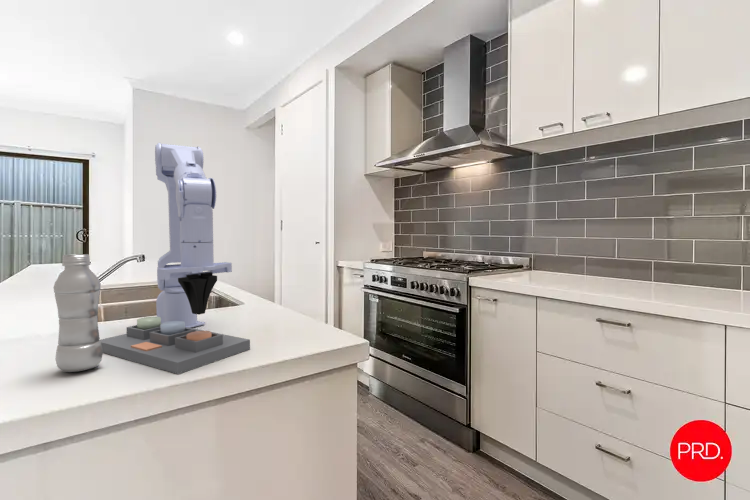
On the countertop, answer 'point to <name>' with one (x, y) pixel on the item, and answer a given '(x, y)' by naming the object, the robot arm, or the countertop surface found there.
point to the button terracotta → (198, 335)
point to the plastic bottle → (77, 315)
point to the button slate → (172, 327)
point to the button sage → (148, 323)
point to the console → (172, 348)
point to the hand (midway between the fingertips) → (198, 313)
